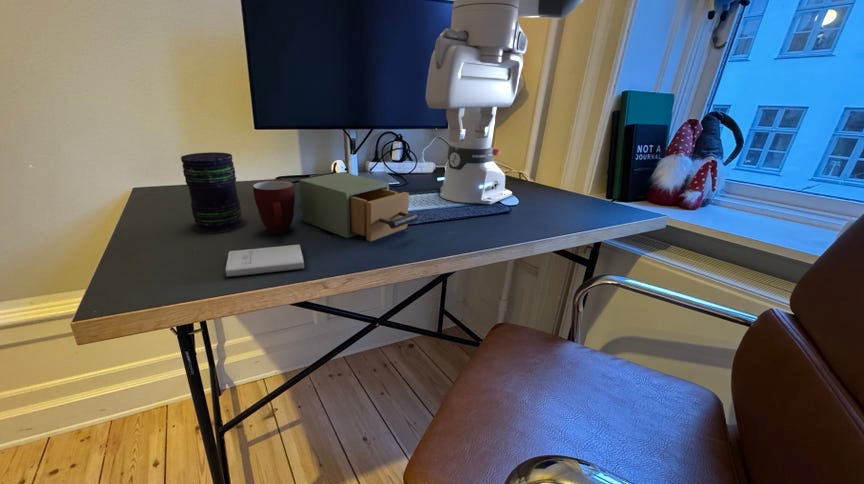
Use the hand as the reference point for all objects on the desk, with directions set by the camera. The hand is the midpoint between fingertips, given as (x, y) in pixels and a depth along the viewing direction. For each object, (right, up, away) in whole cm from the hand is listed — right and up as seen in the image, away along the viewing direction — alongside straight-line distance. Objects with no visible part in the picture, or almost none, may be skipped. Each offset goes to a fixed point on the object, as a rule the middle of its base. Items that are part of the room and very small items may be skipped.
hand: (469, 139), depth 57 cm
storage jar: (-50, -11, +24) cm, 57 cm away
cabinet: (-22, -9, +28) cm, 37 cm away
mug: (-36, -13, +21) cm, 43 cm away
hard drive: (-34, -19, +7) cm, 40 cm away
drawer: (-16, -12, +22) cm, 29 cm away
